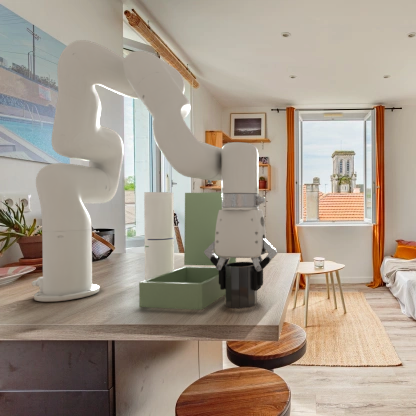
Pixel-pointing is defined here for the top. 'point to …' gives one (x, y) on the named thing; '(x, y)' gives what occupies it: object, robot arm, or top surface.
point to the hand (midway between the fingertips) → (241, 287)
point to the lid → (201, 226)
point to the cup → (239, 285)
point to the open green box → (182, 289)
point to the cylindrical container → (159, 233)
